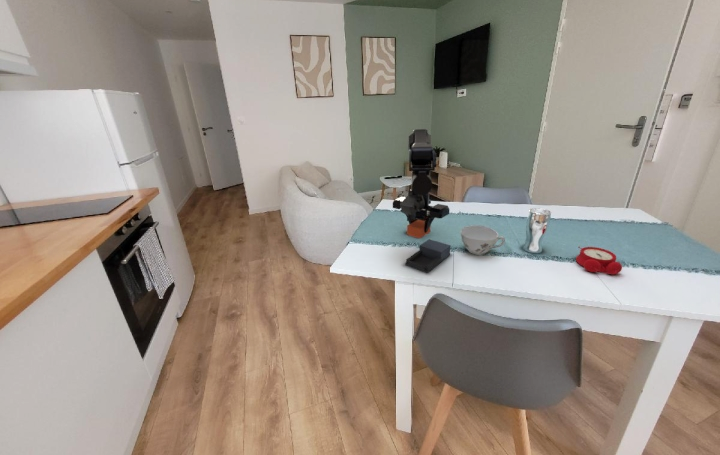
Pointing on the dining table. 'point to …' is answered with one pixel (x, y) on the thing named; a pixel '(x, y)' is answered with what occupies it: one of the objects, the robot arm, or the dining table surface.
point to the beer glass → (536, 229)
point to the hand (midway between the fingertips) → (418, 230)
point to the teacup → (480, 239)
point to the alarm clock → (598, 260)
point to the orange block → (417, 229)
